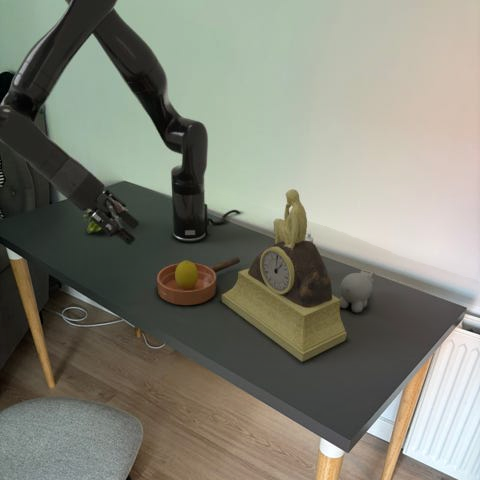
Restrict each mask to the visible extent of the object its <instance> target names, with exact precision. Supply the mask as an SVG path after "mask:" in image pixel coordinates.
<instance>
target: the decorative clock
mask: <svg viewBox="0 0 480 480" xmlns="http://www.w3.org/2000/svg"><path fill="white" fill-rule="evenodd" d="M285 197H286V204H285V209H284V214H283V215H284V216H283V217H284V219H283V218H276V219H274V220H273V236H274V240H275V241H274V243H275V244H273V245H272V246H271V247H269V248H266V249H263V251H262V252H260V253H259V254H258V255H256V257H255V258H254V260H253V261H252V263H251V264H250V267H249V268H246V269H242V270H240V271H238V274H237V280H236V283H235V284H234V286H233V287H232V288H231V289H229V290H228V291H226V292H224V293H221V302H222V303H223V304H224V305H226V306H227V307H228V308H230V309H231V310H232V311H234V312H235V313H236V314H237V315H238V316H240V317H242V319H244V320H245V321H246V322H248V323H250V324H251V325H252V326H254V328H255V329H258V330H259V331H260V332H261V333H263V334H264V335H266V336H267V337H268V338H269V339H270V340H272V341H273V342H275V343H276V344H278V345H279V346H280V347H282V348H283V349H284V350H285V351H286V352H288V353H289V354H291V355H292V356H293V357H294V358H296V359H297V360H299V361H300V362H302V363H303V362H305V361H308V360H309V359H311V358H313V357H315V356H318V355H319V354H321V353H323V352H325V351H327V350H329V349H331V348H333V347H336V346H337V345H339V344H341V343H343V342H345V341H346V339H347V335H348V334H347V333H348V332H347V331H346V328H345V325H344V324H343V321H342V318H341V311H340V308H341V307H340V299H339V297H337V296H335V295H334V294H333V291H332V281H331V279H330V276H329V274H328V270H327V267H326V264H325V262H324V260H323V258H322V256H321V254H320V252H319V250H318V249H317V248H318V247H317V246H316V244H315V243H314V242H313V243H312V242H310V241H305V237H307V233H308V231H307V230H308V218H307V212H306V210H305V207H304V205H303V204H302V202H301V200H300V193H299V191H298V190H297V189H294V188H293V189H289V190H288V191H286V192H285ZM290 208H291V209H290Z"/></svg>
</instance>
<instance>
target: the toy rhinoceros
mask: <svg viewBox="0 0 480 480" xmlns="http://www.w3.org/2000/svg"><path fill="white" fill-rule="evenodd" d="M374 277H375V272H374V271H373V272H368V271H365V269H364V268H363V267H361V269H360V272H352V273H350V274H347V275H346V276H345V277H344V278H343V279H342V281H341V282H340V288H339V289H340V293H341V296H340V297H338V299H340V308H341V309H347V308H348V307H349V305H350V306H351V311H352V312H354V313H355V314H356V313H361V312H362V311H363V309H364V308H366V307H367V305H368V299H369V298H370V296H371V294H372V292H373V291H372V290H373V285H374V283H375V279H374Z"/></svg>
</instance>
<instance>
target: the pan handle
mask: <svg viewBox="0 0 480 480" xmlns="http://www.w3.org/2000/svg"><path fill="white" fill-rule="evenodd" d="M240 262H241V258H240V257H238V256H234V257H232V258H230V259H227V260H224V261H222V262H220V263H217V264H215V265H212V266H210V267H209V268H211V269H212V270H213V271H214V272H215V273H219V272H221V271H224V270H225V269H228V268H230V267H233V266H236V265H237V264H239V263H240ZM206 272H207V274H208V273H209V272H208V271H206Z"/></svg>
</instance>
